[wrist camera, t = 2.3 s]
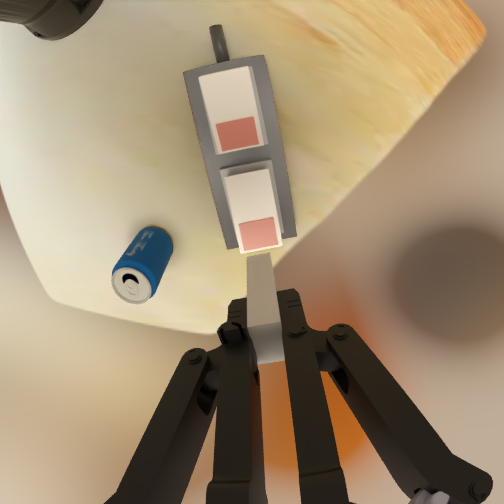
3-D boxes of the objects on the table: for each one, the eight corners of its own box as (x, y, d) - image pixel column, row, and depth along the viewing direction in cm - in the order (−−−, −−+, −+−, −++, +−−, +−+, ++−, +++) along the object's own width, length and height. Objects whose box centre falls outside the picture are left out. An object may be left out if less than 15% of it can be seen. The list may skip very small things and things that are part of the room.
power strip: (181, 39, 28) (172, 30, 23) (253, 24, 27) (254, 11, 23) (228, 237, 43) (226, 253, 38) (292, 225, 42) (298, 240, 37)
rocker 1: (200, 75, 24) (198, 77, 22) (246, 65, 24) (248, 66, 22) (219, 147, 30) (218, 155, 28) (261, 139, 30) (264, 145, 28)
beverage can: (171, 224, 41) (149, 265, 31) (176, 261, 44) (158, 308, 34) (134, 225, 41) (103, 264, 31) (140, 260, 44) (115, 305, 34)
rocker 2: (226, 177, 32) (223, 177, 30) (267, 169, 32) (268, 168, 29) (241, 248, 34) (240, 254, 32) (281, 241, 34) (283, 246, 32)
